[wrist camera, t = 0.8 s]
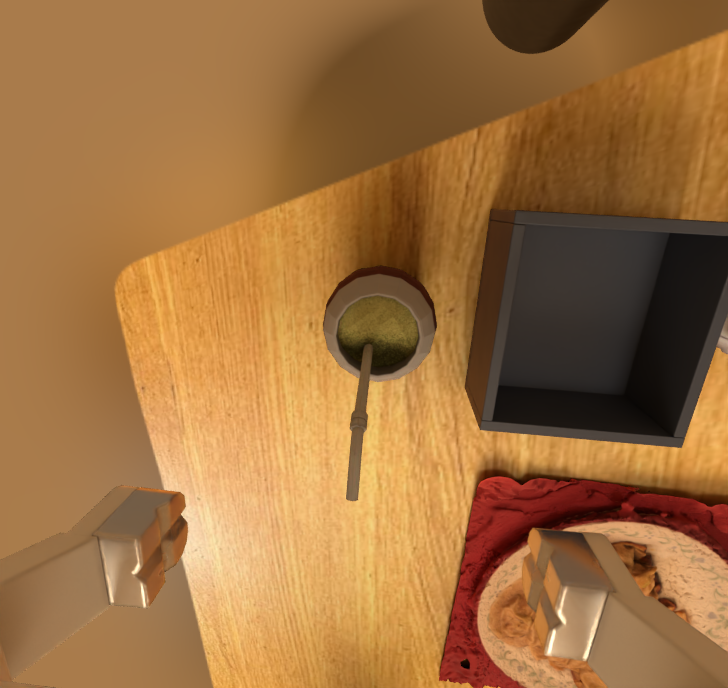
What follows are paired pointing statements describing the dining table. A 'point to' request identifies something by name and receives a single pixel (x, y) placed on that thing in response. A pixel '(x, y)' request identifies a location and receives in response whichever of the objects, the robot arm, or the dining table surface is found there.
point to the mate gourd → (376, 338)
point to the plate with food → (577, 513)
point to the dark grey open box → (596, 325)
